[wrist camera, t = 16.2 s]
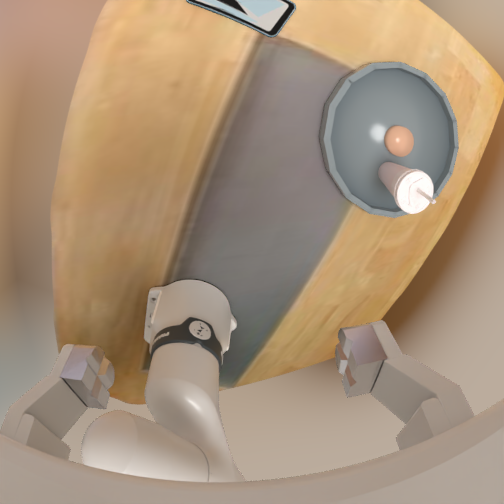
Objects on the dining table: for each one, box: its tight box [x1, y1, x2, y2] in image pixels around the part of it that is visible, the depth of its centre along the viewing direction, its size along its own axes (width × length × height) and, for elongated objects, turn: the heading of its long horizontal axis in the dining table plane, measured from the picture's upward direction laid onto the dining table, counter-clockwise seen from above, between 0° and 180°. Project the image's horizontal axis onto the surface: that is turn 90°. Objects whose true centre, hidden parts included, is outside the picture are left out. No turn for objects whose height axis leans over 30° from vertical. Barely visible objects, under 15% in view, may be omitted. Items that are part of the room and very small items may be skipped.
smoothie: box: [378, 162, 436, 214], centre depth 36 cm, size 6×6×14 cm
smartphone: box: [186, 0, 296, 37], centre depth 28 cm, size 7×1×15 cm
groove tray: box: [319, 62, 458, 218], centre depth 39 cm, size 26×26×2 cm
